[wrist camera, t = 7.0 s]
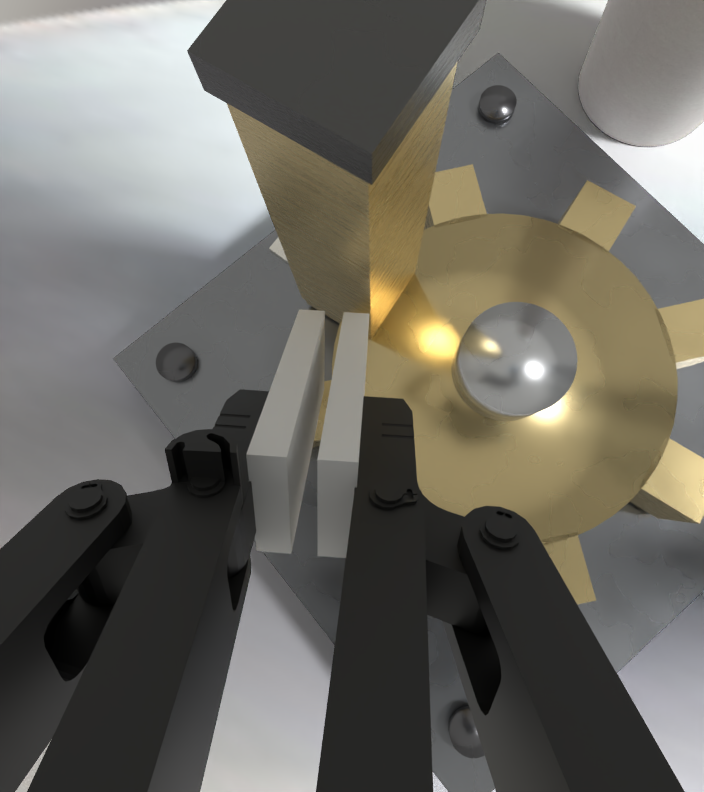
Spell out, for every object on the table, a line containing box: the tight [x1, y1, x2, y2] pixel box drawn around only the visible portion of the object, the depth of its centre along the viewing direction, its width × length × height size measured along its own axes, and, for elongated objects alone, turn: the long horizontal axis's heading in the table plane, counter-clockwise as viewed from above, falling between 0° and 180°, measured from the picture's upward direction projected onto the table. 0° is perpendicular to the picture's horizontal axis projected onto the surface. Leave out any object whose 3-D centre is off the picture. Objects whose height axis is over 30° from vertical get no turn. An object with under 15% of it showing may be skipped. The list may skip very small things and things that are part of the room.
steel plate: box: [113, 53, 704, 792], centre depth 19 cm, size 22×22×7 cm
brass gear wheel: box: [187, 0, 704, 605], centre depth 14 cm, size 16×16×13 cm
